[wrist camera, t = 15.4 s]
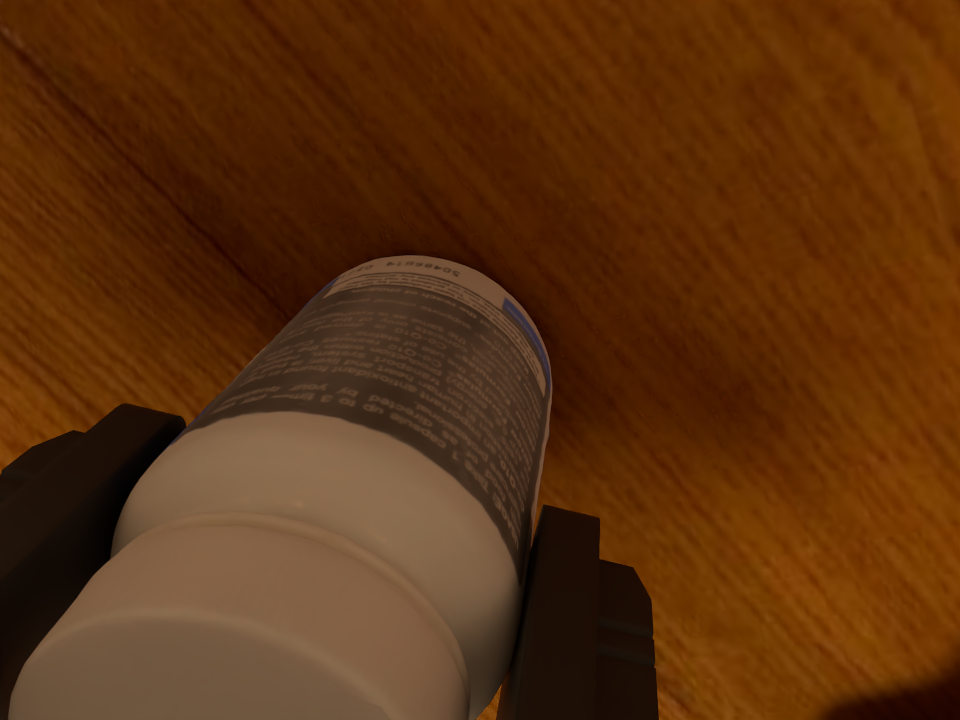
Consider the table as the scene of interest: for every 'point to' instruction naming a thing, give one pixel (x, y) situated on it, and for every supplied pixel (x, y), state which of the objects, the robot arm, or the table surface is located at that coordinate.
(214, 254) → the table surface
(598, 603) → the robot arm
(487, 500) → the pill bottle
